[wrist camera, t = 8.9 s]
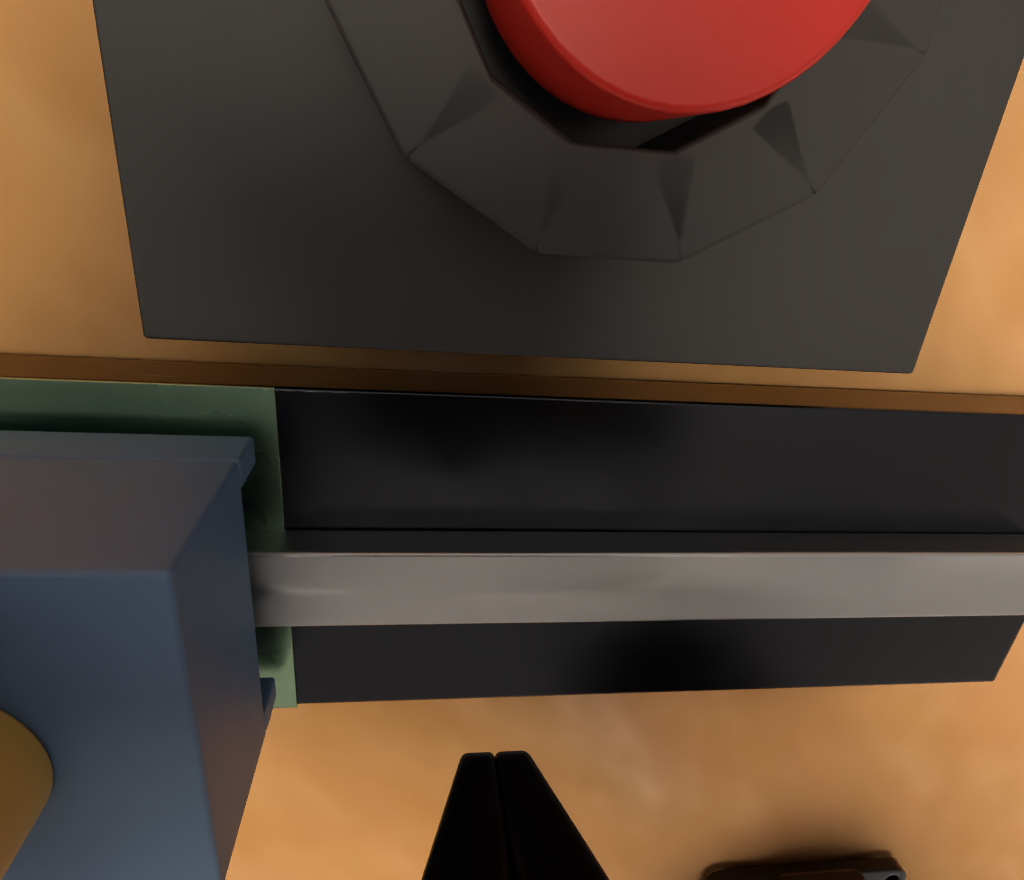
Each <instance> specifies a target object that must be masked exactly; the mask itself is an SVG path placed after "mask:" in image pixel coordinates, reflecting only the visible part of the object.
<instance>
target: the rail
mask: <svg viewBox="0 0 1024 880" xmlns="http://www.w3.org/2000/svg"><path fill="white" fill-rule="evenodd" d="M0 430H2V431H40V432H79V433H117V434H156V435H194V436H233V437H252V438H253V440H254V448H255V460H256V462H255V464H254V466H253V468H252V470H251V472H250V473H249V475H248V477H247V479H246V481H245V482H244V484H243V486H242V487H241V495H242V505H243V515H244V525H245V535H246V545H247V555H248V565H249V575H250V585H251V595H252V605H253V615H254V625H255V634H256V644H257V654H258V664H259V674H260V678H266V677H273V678H274V679H275V686H276V698H275V702H274V705H273V708H289V707H297V704H305V703H336V702H367V701H398V700H429V699H459V698H490V697H521V696H552V695H583V694H614V693H645V692H676V691H707V690H738V689H769V688H800V687H831V686H862V685H893V684H924V683H955V682H986V681H993V680H994V679H995V677H996V676H997V674H998V672H999V670H1000V668H1001V666H1002V664H1003V662H1004V660H1005V658H1006V656H1007V654H1008V652H1009V650H1010V648H1011V646H1012V644H1013V642H1014V640H1015V638H1016V636H1017V634H1018V632H1019V630H1020V629H1021V627H1022V625H1023V623H1024V397H1019V396H995V395H971V394H947V393H923V392H899V391H875V390H851V389H827V388H803V387H779V386H755V385H731V384H707V383H683V382H659V381H635V380H611V379H587V378H563V377H539V376H515V375H491V374H467V373H443V372H419V371H395V370H371V369H347V368H323V367H299V366H275V365H251V364H227V363H203V362H179V361H155V360H131V359H107V358H83V357H59V356H35V355H11V354H0Z"/></svg>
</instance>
